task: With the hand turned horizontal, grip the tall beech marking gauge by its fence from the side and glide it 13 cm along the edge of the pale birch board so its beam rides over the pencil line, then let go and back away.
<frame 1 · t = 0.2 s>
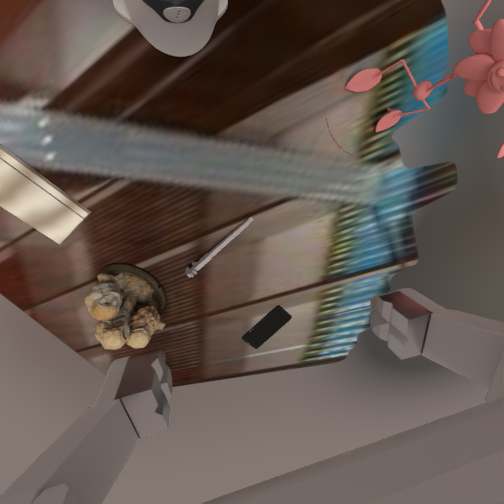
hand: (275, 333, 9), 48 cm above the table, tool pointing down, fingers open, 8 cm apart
smartphone: (266, 326, 71), on the table
board: (15, 184, 45), on the table
carved stone sculpture: (136, 290, 58), on the table
caliper: (219, 242, 58), on the table
figurine: (355, 115, 54), on the table
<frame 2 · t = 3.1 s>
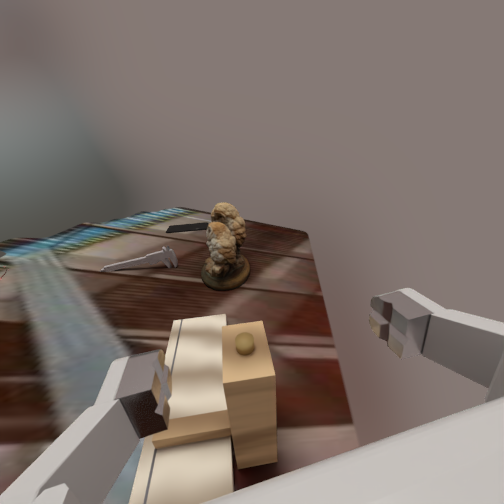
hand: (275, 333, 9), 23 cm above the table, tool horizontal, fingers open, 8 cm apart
smartphone: (188, 229, 89), on the table
board: (195, 387, 31), on the table
carved stone sculpture: (226, 271, 59), on the table
caliper: (139, 270, 62), on the table
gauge: (253, 432, 26), on the table
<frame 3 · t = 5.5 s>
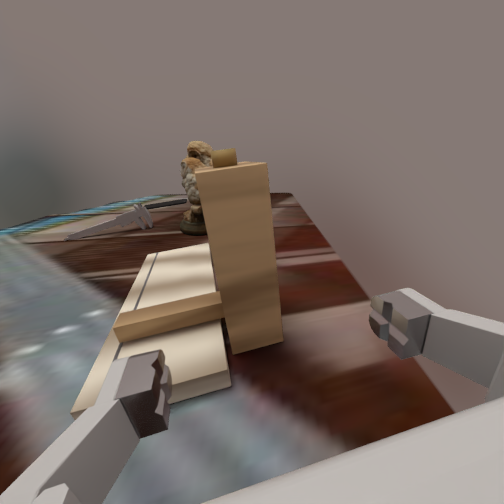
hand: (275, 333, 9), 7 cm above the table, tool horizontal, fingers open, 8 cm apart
smartphone: (165, 206, 83), on the table
board: (175, 300, 25), on the table
carved stone sculpture: (207, 224, 54), on the table
caliper: (110, 235, 56), on the table
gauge: (250, 322, 21), on the table
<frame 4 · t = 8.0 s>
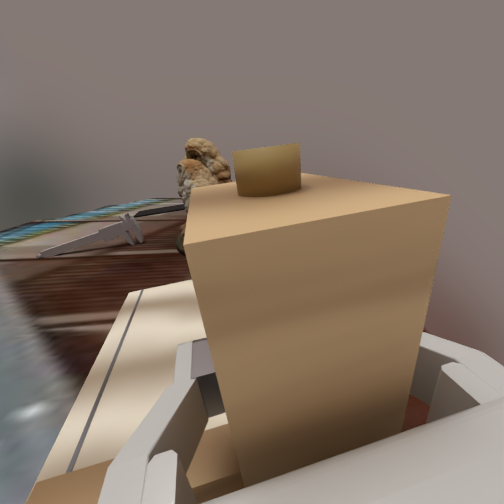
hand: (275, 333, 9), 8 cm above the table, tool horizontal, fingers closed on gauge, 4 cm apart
smartphone: (161, 212, 74), on the table
board: (160, 389, 16), on the table
carved stone sculpture: (209, 239, 44), on the table
caliper: (92, 252, 46), on the table
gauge: (294, 470, 11), on the table, touching gripper
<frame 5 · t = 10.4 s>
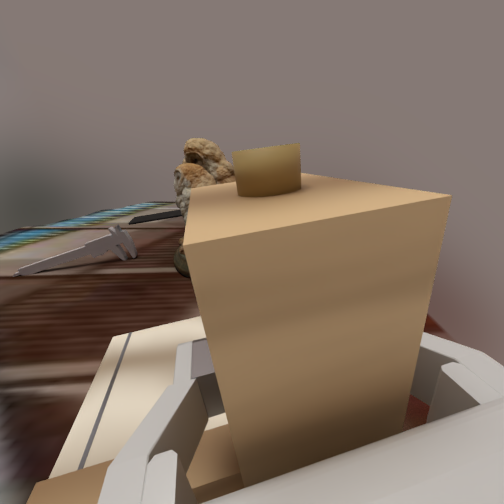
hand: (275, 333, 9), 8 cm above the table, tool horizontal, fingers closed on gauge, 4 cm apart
smartphone: (159, 219, 68), on the table
carved stone sculpture: (212, 254, 39), on the table
caliper: (78, 268, 41), on the table
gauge: (294, 471, 11), point 1 cm above the table, touching gripper
when the fingers open (8 cm above the table, at t = 13.0 s): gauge stays where it is, on the table.
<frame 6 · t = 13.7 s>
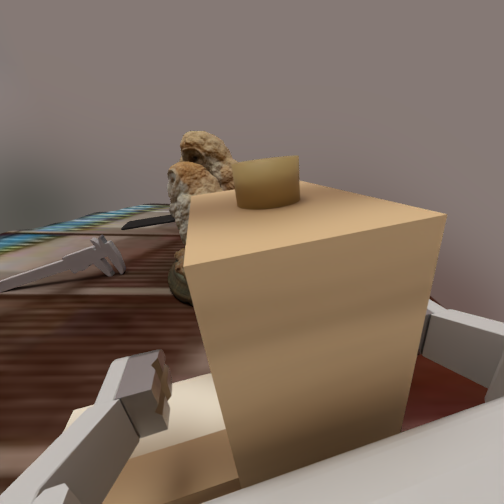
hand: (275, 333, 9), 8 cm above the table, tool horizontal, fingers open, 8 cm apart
smartphone: (155, 223, 62), on the table
carved stone sculpture: (215, 270, 32), on the table
caliper: (56, 285, 34), on the table
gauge: (292, 474, 11), on the table
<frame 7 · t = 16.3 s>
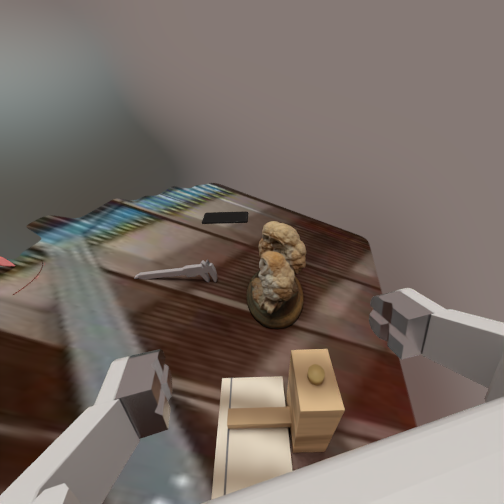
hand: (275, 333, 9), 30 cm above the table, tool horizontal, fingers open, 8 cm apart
smartphone: (225, 219, 79), on the table
board: (253, 492, 27), on the table
carved stone sculpture: (274, 294, 51), on the table
caliper: (175, 280, 56), on the table
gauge: (304, 423, 32), on the table
figurine: (3, 283, 58), on the table
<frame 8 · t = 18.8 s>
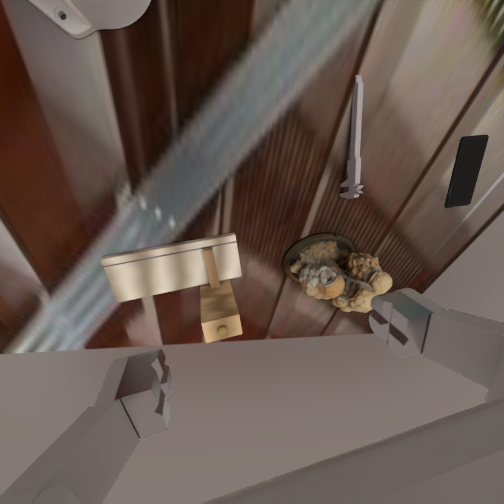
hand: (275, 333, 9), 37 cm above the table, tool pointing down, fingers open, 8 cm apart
smartphone: (462, 172, 53), on the table
board: (177, 265, 46), on the table
carved stone sculpture: (319, 257, 53), on the table
caliper: (347, 141, 45), on the table
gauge: (216, 288, 50), on the table
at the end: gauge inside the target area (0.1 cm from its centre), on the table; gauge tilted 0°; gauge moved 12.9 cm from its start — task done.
